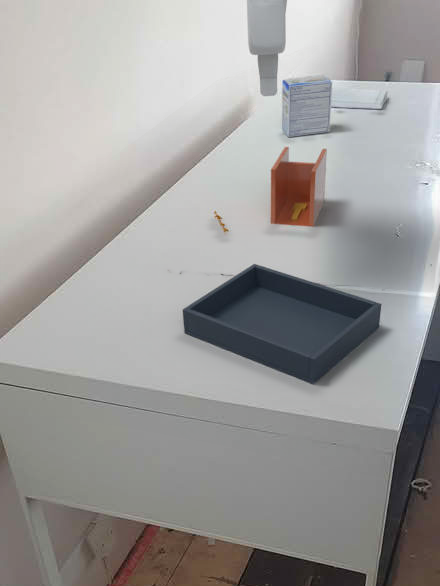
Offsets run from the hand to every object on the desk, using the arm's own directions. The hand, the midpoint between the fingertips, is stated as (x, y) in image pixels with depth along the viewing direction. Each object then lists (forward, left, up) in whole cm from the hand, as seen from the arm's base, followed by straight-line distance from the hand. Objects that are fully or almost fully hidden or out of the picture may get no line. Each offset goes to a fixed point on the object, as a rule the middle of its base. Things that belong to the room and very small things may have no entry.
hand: (269, 83), depth 81 cm
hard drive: (+26, -64, -21) cm, 72 cm away
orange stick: (+11, -3, -21) cm, 24 cm away
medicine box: (+24, -44, -21) cm, 54 cm away
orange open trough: (+4, -12, -20) cm, 24 cm away
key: (+4, -12, -20) cm, 23 cm away
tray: (-12, +15, -20) cm, 28 cm away
